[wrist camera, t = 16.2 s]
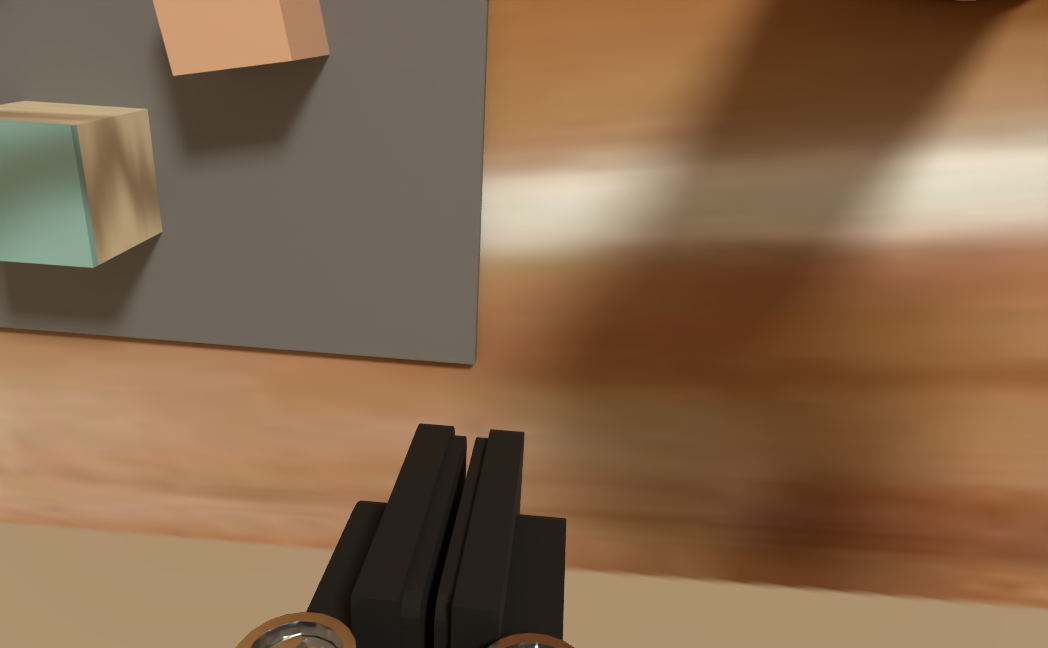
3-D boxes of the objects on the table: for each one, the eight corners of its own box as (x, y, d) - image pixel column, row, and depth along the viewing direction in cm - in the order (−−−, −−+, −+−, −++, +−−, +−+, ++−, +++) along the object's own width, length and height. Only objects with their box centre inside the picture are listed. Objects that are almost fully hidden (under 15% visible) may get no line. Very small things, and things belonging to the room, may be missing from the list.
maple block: (70, 126, 31) (147, 109, 37) (-73, 116, 32) (24, 100, 37) (93, 267, 34) (162, 231, 39) (-41, 257, 34) (46, 223, 39)
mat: (-118, -44, 36) (-129, -45, 35) (488, -9, 35) (487, -9, 34) (-34, 319, 43) (-42, 323, 42) (476, 360, 41) (474, 364, 41)
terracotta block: (196, -52, 34) (135, -61, 30) (305, -68, 34) (261, -80, 29) (225, 67, 36) (173, 75, 31) (329, 54, 35) (292, 60, 31)
